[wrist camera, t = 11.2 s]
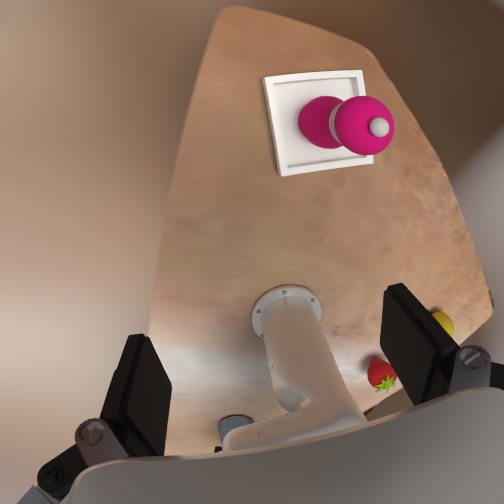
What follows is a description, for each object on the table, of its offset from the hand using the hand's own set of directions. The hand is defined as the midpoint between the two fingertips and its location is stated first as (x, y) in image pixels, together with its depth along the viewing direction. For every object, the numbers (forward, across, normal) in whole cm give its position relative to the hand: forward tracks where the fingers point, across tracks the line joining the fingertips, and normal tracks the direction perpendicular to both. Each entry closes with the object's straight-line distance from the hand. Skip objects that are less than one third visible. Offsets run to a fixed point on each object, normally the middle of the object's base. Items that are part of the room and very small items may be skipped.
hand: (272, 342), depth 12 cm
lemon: (+36, -36, +36) cm, 63 cm away
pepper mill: (+36, -13, -6) cm, 38 cm away
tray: (+36, -13, -6) cm, 39 cm away
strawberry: (+36, -22, +44) cm, 61 cm away
